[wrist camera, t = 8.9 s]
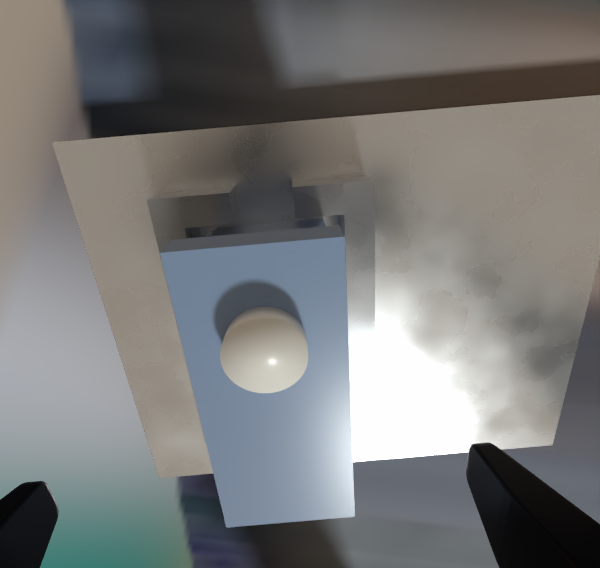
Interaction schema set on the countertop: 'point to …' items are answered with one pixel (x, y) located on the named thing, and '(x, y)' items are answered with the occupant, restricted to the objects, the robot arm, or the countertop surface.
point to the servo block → (269, 366)
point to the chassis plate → (370, 260)
